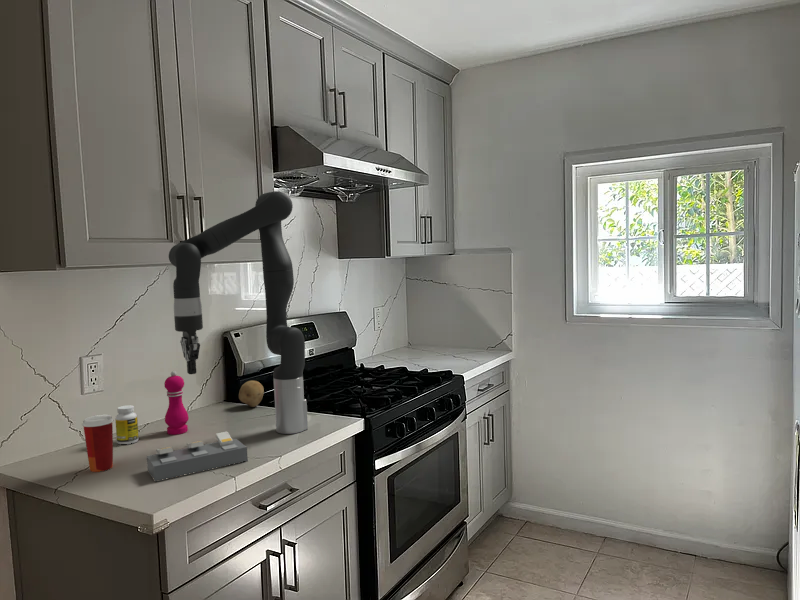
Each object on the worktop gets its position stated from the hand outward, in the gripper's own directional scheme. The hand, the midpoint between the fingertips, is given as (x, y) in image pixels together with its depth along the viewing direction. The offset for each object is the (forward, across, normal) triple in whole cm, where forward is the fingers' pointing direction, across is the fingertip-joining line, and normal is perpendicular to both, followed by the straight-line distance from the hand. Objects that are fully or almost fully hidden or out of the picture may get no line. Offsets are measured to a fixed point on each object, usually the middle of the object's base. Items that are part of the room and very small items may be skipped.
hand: (191, 373), depth 175 cm
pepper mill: (+23, +24, 0) cm, 34 cm away
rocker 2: (+18, -11, -5) cm, 21 cm away
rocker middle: (+18, -11, +3) cm, 21 cm away
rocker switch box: (+23, -13, +3) cm, 26 cm away
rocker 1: (+18, -11, +11) cm, 23 cm away
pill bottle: (+23, +23, +15) cm, 36 cm away
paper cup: (+23, +2, +25) cm, 34 cm away
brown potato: (+23, +39, -30) cm, 55 cm away
